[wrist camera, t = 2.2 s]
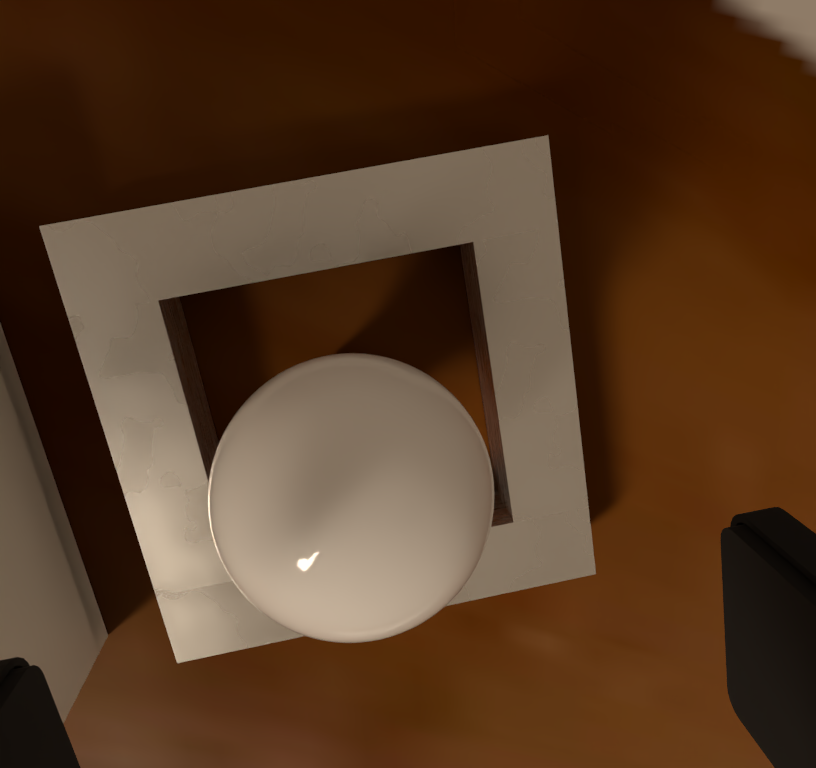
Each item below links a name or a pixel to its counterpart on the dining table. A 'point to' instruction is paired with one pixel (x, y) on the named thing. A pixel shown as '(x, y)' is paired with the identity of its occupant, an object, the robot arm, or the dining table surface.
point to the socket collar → (307, 252)
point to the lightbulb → (351, 498)
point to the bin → (40, 557)
